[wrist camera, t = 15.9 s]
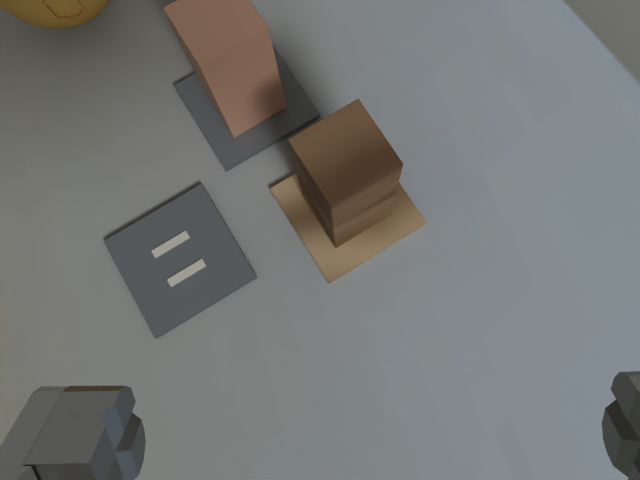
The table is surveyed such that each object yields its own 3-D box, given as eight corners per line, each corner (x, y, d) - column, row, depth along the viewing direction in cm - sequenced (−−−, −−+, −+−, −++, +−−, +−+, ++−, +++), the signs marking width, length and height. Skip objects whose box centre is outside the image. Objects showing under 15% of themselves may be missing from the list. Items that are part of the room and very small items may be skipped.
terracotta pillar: (204, 90, 44) (163, 7, 34) (256, 61, 44) (229, -30, 34) (234, 137, 43) (199, 66, 33) (286, 107, 43) (268, 27, 33)
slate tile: (175, 87, 44) (173, 84, 44) (265, 36, 45) (264, 32, 44) (226, 171, 42) (224, 169, 42) (319, 116, 43) (319, 113, 43)
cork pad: (270, 190, 42) (269, 188, 42) (364, 134, 43) (364, 132, 42) (328, 283, 40) (328, 282, 40) (425, 223, 41) (426, 222, 40)
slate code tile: (105, 242, 42) (102, 240, 41) (202, 185, 42) (200, 183, 42) (157, 338, 40) (154, 338, 39) (257, 277, 41) (256, 276, 40)
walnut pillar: (302, 196, 41) (288, 139, 32) (356, 164, 42) (358, 98, 32) (335, 248, 40) (331, 206, 31) (390, 215, 41) (403, 163, 31)
